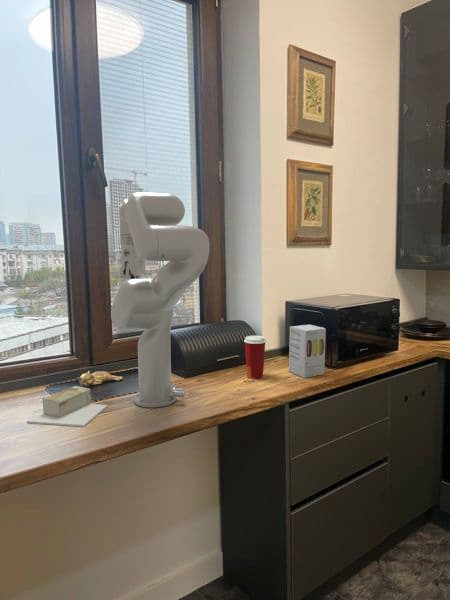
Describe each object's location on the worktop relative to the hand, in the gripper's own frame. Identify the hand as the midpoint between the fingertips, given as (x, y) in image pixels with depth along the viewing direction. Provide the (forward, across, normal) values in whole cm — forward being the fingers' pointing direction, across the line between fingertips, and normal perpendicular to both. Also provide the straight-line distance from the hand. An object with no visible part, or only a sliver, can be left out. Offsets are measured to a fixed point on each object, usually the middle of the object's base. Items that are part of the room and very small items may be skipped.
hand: (133, 296), depth 144 cm
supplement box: (+29, +19, -57) cm, 67 cm away
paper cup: (+29, +12, -39) cm, 50 cm away
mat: (+29, -30, +8) cm, 43 cm away
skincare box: (+26, -21, +8) cm, 35 cm away
